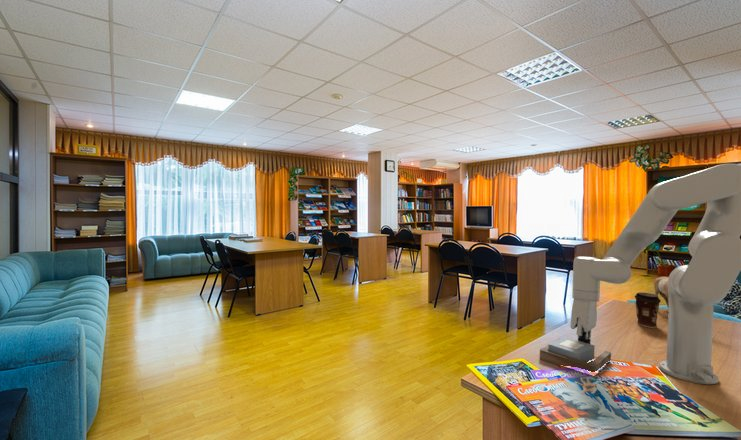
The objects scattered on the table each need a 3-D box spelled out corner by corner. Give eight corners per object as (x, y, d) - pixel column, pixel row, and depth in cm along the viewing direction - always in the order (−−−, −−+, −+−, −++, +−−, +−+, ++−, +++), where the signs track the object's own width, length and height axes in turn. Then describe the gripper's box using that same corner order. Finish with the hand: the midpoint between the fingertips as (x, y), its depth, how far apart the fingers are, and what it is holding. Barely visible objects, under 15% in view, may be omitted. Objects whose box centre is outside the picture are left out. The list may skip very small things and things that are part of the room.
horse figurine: (693, 327, 141) (695, 277, 140) (669, 324, 144) (671, 275, 144) (667, 308, 169) (669, 266, 168) (647, 306, 172) (649, 265, 172)
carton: (564, 351, 116) (564, 336, 116) (594, 361, 109) (594, 345, 109) (548, 359, 109) (548, 343, 109) (578, 370, 102) (579, 353, 102)
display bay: (559, 346, 119) (559, 338, 119) (610, 361, 108) (610, 352, 108) (539, 359, 109) (539, 349, 109) (593, 377, 98) (594, 366, 97)
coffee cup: (628, 323, 145) (629, 292, 145) (640, 320, 149) (641, 290, 148) (652, 329, 137) (654, 297, 137) (664, 327, 141) (665, 295, 140)
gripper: (581, 289, 120) (579, 341, 121) (564, 295, 111) (562, 352, 111) (606, 293, 115) (604, 348, 115) (590, 300, 105) (588, 360, 106)
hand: (583, 350), depth 113 cm, fingers closed
